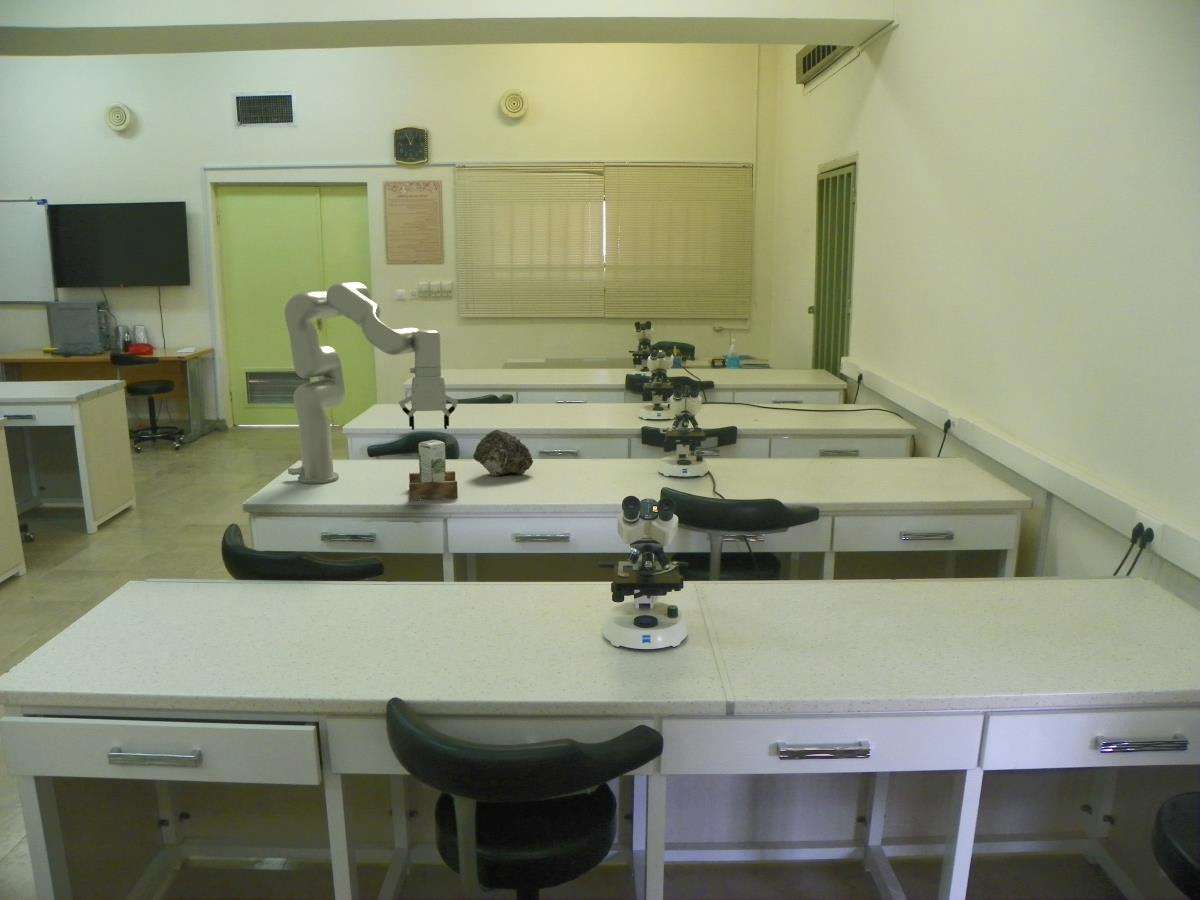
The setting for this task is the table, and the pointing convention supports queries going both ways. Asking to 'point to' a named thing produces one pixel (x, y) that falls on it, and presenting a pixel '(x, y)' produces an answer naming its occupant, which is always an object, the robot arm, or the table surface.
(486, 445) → the rock
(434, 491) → the walnut rack
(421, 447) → the syrup box
